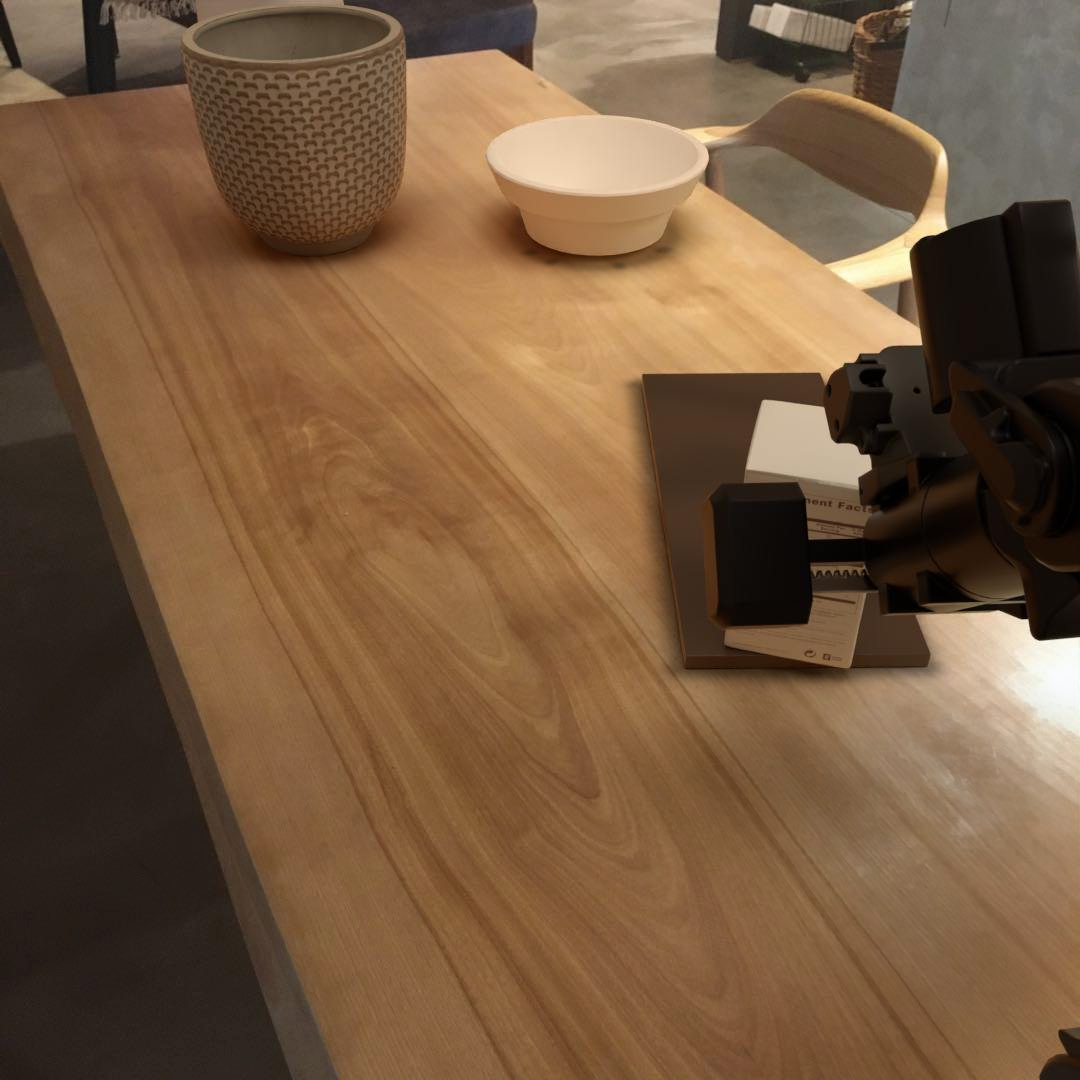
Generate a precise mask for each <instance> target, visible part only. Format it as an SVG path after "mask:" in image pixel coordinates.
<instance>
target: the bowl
mask: <svg viewBox="0 0 1080 1080" xmlns="http://www.w3.org/2000/svg"><path fill="white" fill-rule="evenodd" d="M485 159H486V163H487V165H488V168H489V170H490V171H491V173H492V175H493V177H494V180H495V182H496V184H497V186H498V188H499V190H500V192H501V193H502V195H503V196H504V197H505V198H506V199H507V201H509V202H510V203H511V204H513V205H514V206H516V207H518V209H519V212H520V215H521V218H522V221H523V224H524V228H525V230H526V233H527V234H528V236H529V237H530V238H531V239H532V240H533V241H535V242H537V243H538V244H540V245H541V246H544V247H546V248H547V249H550V250H555V251H558V252H561V253H567V254H571V255H579V256H594V257H595V256H597V257H599V256H601V257H602V256H614V255H615V256H616V255H622V254H628V253H632V252H636V251H639V250H643V249H645V248H647V247H650V246H651V245H653V244H655V243H656V242H658V241H659V240H660V239H661V238H662V237H663V235H664V233H665V230H666V228H667V226H668V223H669V221H670V218H671V215H672V213H673V210H674V209H676V208H678V207H680V206H681V205H683V204H684V203H685V202H686V201H688V199H690V197H691V196H692V194H693V193H694V190H695V188H696V187H697V185H698V183H699V181H700V180H701V178H702V176H703V175H704V172H705V171H706V169H707V167H708V164H709V161H710V156H709V150H708V148H707V146H705V144H704V143H703V142H702V141H701V140H700V139H699V138H697V137H696V136H695V135H693V134H691V133H689V132H687V131H685V130H683V129H681V128H678V127H676V126H673V125H669V124H666V123H663V122H660V121H659V122H658V121H654V120H650V119H645V118H638V117H632V116H623V115H622V116H621V115H610V114H609V115H607V114H580V115H567V116H566V115H565V116H558V117H557V116H556V117H550V118H544V119H540V120H535V121H530V122H527V123H524V124H521V125H517V126H514V127H512V128H510V129H508V130H506V131H503V132H501V133H500V134H499V135H497V136H496V137H494V138H493V140H492V141H491V142H490V143H489V145H488V146H487V148H486V152H485Z"/></svg>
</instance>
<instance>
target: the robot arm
mask: <svg viewBox="0 0 1080 1080" xmlns="http://www.w3.org/2000/svg"><path fill="white" fill-rule="evenodd" d="M1075 225H1076V224H1075V220H1074V214H1073V208H1072V202H1071V201H1070V200H1068V199H1067V198H1063V199H1062V198H1061V199H1060V198H1059V199H1043V200H1042V199H1041V200H1026V201H1023V200H1022V201H1014V202H1012V204H1011V205H1010V206H1008V207H1007V208H1006V209H1005V210H1004V211H1003V212H1001V214H995V215H991V216H987V217H983V218H978V219H975V220H971V221H968V222H965V223H962V224H959V225H956V226H952V227H950V228H948V229H946V230H943V231H941V232H940V233H937V234H931V235H926V236H923V237H921V238H919V239H918V240H917V241H916V242H915V243H914V244H912V245H913V246H912V247H911V248H910V250H909V251H908V252H909V265H910V272H911V278H912V285H913V291H914V298H915V305H916V311H917V318H918V326H919V332H920V339H921V344H916V345H915V344H912V345H908V344H907V345H906V344H905V345H904V344H903V345H902V344H901V345H899V344H898V345H890V346H887V347H884V348H883V349H881V350H880V351H879V352H868V353H867V352H865V353H864V352H861V353H859V354H858V356H857V358H856V360H854V362H844V363H843V365H842V366H841V367H839V368H837V369H835V370H834V371H832V373H831V374H830V375H829V378H828V380H827V382H826V383H825V388H824V394H823V404H824V409H825V414H826V418H827V423H828V427H829V432H830V436H831V439H832V440H833V441H834V442H835V443H837V444H853V445H855V446H856V447H857V448H858V451H859V453H860V454H861V455H868V454H869V456H870V459H871V468H872V470H870V471H868V472H867V473H865V474H863V475H862V476H860V477H858V485H859V497H860V505H861V506H871V510H872V515H870V516H869V517H868V519H867V521H866V524H865V527H864V531H863V536H862V538H852V539H810V540H809V537H808V524H807V510H806V498H805V496H804V494H803V492H802V490H801V488H800V486H799V484H798V482H770V483H722V484H721V485H720V486H719V487H718V488H716V489H715V490H714V491H713V492H712V493H711V494H710V495H709V496H708V497H707V498H706V500H705V501H704V502H703V503H702V504H701V511H702V528H703V545H704V562H705V579H706V596H707V613H708V618H709V619H710V620H711V621H712V622H713V623H714V624H715V625H716V626H717V627H718V628H719V629H721V630H737V629H769V628H786V627H798V626H803V625H807V624H808V622H809V617H810V613H811V608H812V603H813V594H844V593H878V596H879V608H880V616H893V615H916V616H921V615H922V616H925V615H954V614H956V615H957V614H986V613H989V614H990V613H994V612H1001V613H1004V614H1006V615H1008V616H1011V617H1014V618H1016V619H1018V620H1020V621H1021V620H1022V621H1025V620H1028V621H1027V622H1028V628H1029V632H1030V635H1031V637H1032V638H1033V639H1034V640H1036V641H1039V642H1044V641H1056V640H1066V639H1078V638H1080V251H1079V246H1078V239H1077V232H1076V226H1075ZM853 565H865V567H866V569H862V570H861V571H860V574H858V571H857V569H854V570H852V572H851V575H850V573H849V571H848V570H843V573H842V576H841V573H840V571H839V570H835V571H834V574H833V575H832V573H831V571H830V570H827V571H825V575H823V573H822V571H821V570H819V571H817V572H816V576H815V575H814V573H813V571H811V567H815V566H853ZM866 570H867V571H866ZM867 573H868V574H867ZM1057 1035H1058V1039H1059V1041H1060V1043H1061V1045H1062V1046H1063V1048H1064V1051H1065V1053H1057V1054H1055V1055H1053V1056H1051V1057H1049V1058H1048V1059H1047V1060H1046V1062H1045V1064H1044V1065H1043V1067H1042V1069H1041V1071H1040V1072H1039V1074H1038V1079H1039V1080H1080V1026H1076V1027H1070V1028H1060V1029H1058V1032H1057Z"/></svg>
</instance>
